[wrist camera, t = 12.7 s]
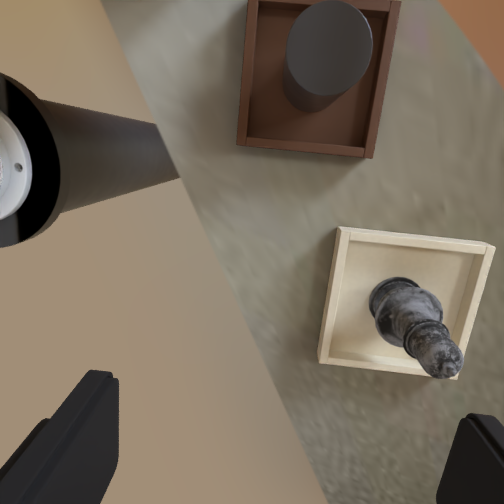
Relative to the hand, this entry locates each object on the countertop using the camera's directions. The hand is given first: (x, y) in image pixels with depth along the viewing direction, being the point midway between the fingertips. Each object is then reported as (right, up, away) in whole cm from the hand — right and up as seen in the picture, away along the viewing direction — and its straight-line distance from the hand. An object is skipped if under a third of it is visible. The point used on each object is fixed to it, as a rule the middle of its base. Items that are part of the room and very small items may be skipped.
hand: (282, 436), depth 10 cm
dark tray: (+4, +20, +21) cm, 29 cm away
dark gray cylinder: (+4, +19, +21) cm, 29 cm away
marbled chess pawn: (+13, 0, +26) cm, 29 cm away
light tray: (+13, 0, +26) cm, 29 cm away
